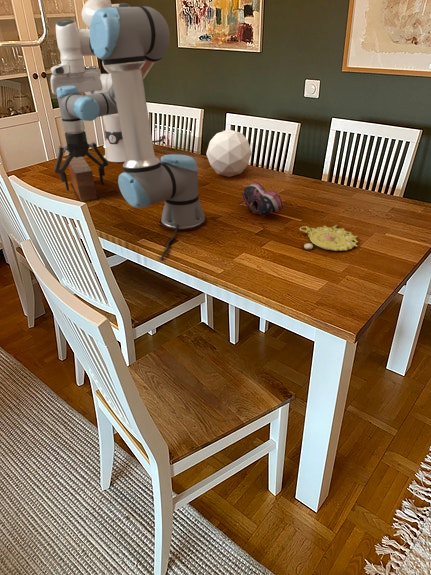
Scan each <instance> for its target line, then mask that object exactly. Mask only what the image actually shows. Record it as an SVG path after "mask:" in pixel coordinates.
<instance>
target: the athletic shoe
mask: <svg viewBox="0 0 431 575" xmlns="http://www.w3.org/2000/svg"><path fill="white" fill-rule="evenodd" d="M241 197H242V199H243V201H238V203H239V204H241V205H245V206H246V207H247V208H248V210H249V211H250V210H251V213H252V214H255V215H260V217H266V216H267V215H270V214H274V213H275V212H279V211H282V210H283V209H284V205H283V201H282V198H281V196H280V195H279V194H278V192H277V191H274V190H269V191H267V190H266V189H265V187H264V186H263V185H262V184H261V183H258V182H251V183H249V184H247V186H246V187H245V188H244V190H243V191H242V192H241Z"/></svg>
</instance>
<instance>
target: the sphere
mask: <svg viewBox="0 0 431 575" xmlns="http://www.w3.org/2000/svg"><path fill="white" fill-rule="evenodd" d="M252 154H253V152H252V148H251V145H250V143H249V140H248V139H247V138H246V136H245V135H244V134H243V133H242V132H240V131H236V130H232V129H226V130H222V131H221V132H217V133H216V134H215V135H214V136H213V137H212V138H211V139H210V140H209V142H208V147H207V150H206V158H207V160H208V162H209V165H210V166H211V168H212V169H213V170H214V172H215V173H216V174H217V175H221V176H224V177H227V178H230V177H233V176H238V175H240V174H242V173H243V172H244V170H245V169H246V168H247V166H249V162H250V160H251V157H252Z"/></svg>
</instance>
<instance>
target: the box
mask: <svg viewBox="0 0 431 575" xmlns="http://www.w3.org/2000/svg"><path fill="white" fill-rule="evenodd" d="M67 168H68V172H69V176H70V182H71V185H72V188H73V189H74V191H75V193H76V195H77V197H78V199H79V201H80V202H81V203H84V202H89V201H91V202H92V201H96V200H98V195H97V190H96V185H95V179H94V174H93V170H92V168H91V167H90V165H89V164H88V162H87V161H86V159H85V158H84V157H77V158H76V157H73V159H72V160H71V161H70V163H69V165H68V166H67Z"/></svg>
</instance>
